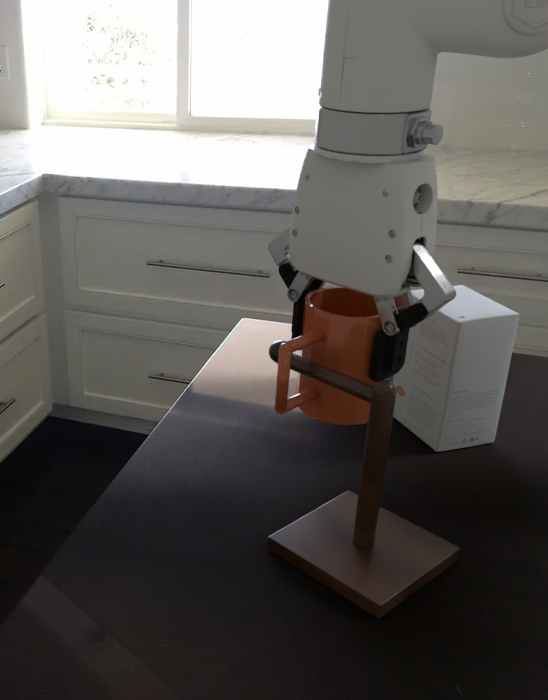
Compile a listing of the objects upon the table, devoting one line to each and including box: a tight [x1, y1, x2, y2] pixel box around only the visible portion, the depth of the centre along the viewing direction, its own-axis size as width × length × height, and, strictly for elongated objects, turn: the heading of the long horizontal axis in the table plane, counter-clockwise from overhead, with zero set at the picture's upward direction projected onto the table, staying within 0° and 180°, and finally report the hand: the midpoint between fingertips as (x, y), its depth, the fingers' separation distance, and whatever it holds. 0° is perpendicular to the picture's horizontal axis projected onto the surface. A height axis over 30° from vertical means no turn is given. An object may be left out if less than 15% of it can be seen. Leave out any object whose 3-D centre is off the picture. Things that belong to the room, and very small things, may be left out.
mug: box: [274, 286, 397, 426], centre depth 67 cm, size 11×7×9 cm, turn 128°
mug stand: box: [266, 339, 461, 619], centre depth 65 cm, size 10×15×15 cm, turn 38°
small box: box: [392, 284, 520, 453], centre depth 80 cm, size 8×6×13 cm
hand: (343, 358), depth 69 cm, fingers closed on mug, 6 cm apart
